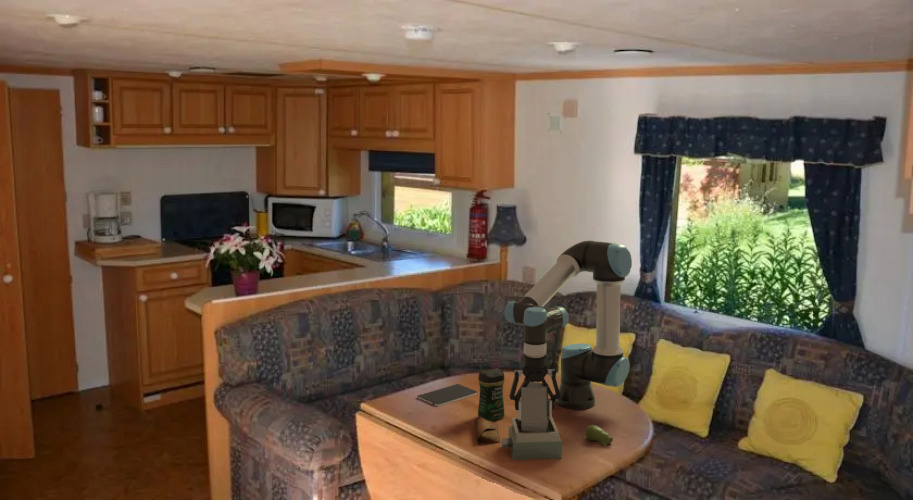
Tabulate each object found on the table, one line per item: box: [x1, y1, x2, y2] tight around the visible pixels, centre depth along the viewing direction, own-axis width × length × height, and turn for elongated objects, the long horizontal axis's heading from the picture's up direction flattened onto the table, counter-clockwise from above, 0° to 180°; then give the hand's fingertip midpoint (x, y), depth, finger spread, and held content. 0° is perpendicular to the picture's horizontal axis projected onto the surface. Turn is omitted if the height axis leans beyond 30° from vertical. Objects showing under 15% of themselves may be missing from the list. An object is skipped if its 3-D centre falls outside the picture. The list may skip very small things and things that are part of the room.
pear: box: [584, 424, 614, 446], centre depth 280 cm, size 6×5×10 cm
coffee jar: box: [477, 367, 506, 422], centre depth 301 cm, size 10×8×19 cm
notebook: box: [417, 383, 478, 407], centre depth 325 cm, size 13×2×21 cm
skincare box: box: [520, 382, 549, 432], centre depth 271 cm, size 8×7×16 cm
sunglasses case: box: [474, 416, 502, 445], centre depth 287 cm, size 18×7×7 cm
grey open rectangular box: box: [501, 417, 563, 461], centre depth 272 cm, size 19×14×9 cm
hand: (534, 418), depth 271 cm, fingers closed on skincare box, 9 cm apart
